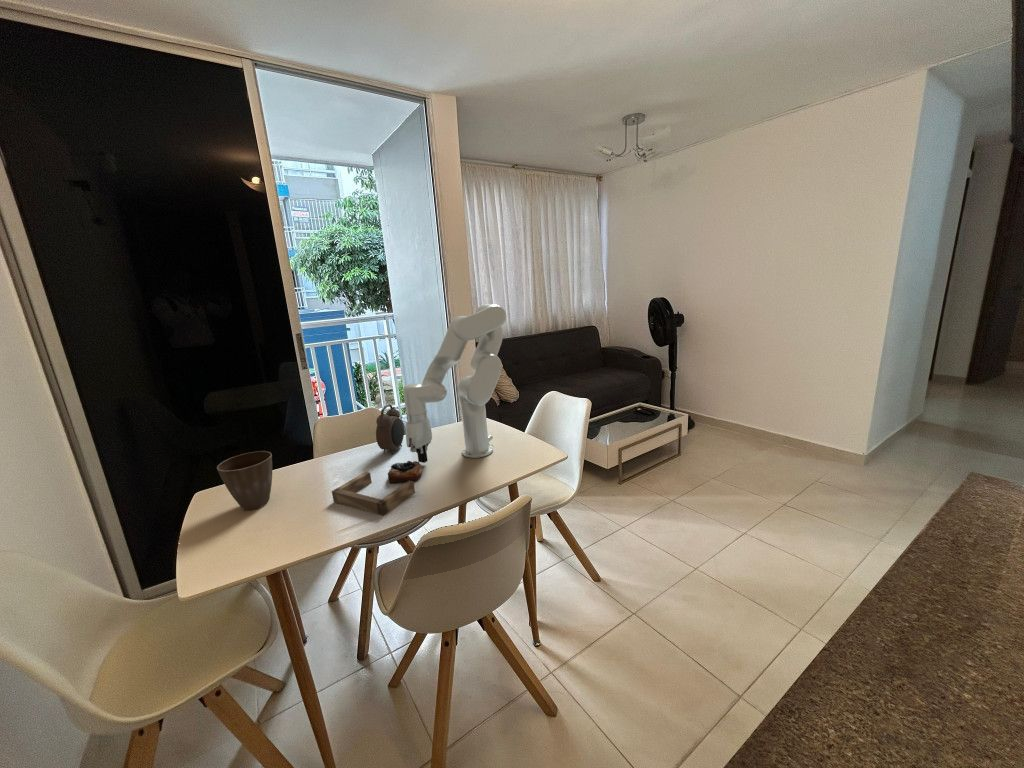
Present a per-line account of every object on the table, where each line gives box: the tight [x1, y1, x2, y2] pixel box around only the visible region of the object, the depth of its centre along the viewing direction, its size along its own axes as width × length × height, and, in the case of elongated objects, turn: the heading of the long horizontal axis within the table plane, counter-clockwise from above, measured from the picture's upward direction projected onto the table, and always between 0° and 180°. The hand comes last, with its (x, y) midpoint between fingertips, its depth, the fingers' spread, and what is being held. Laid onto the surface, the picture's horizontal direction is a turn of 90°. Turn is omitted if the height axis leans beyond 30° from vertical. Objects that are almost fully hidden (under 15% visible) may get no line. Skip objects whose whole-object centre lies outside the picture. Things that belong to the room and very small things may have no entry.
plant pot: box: [216, 450, 273, 511], centre depth 128 cm, size 15×15×16 cm
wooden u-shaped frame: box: [331, 471, 416, 516], centre depth 128 cm, size 14×22×4 cm, turn 63°
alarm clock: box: [375, 404, 405, 455], centre depth 164 cm, size 15×7×20 cm, turn 171°
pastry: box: [387, 460, 423, 485], centre depth 141 cm, size 11×12×6 cm
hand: (423, 461), depth 150 cm, fingers closed
